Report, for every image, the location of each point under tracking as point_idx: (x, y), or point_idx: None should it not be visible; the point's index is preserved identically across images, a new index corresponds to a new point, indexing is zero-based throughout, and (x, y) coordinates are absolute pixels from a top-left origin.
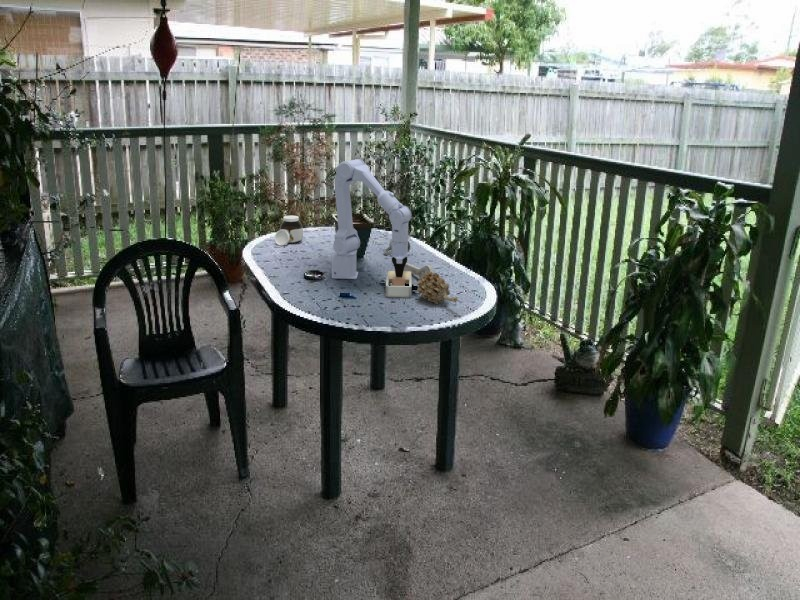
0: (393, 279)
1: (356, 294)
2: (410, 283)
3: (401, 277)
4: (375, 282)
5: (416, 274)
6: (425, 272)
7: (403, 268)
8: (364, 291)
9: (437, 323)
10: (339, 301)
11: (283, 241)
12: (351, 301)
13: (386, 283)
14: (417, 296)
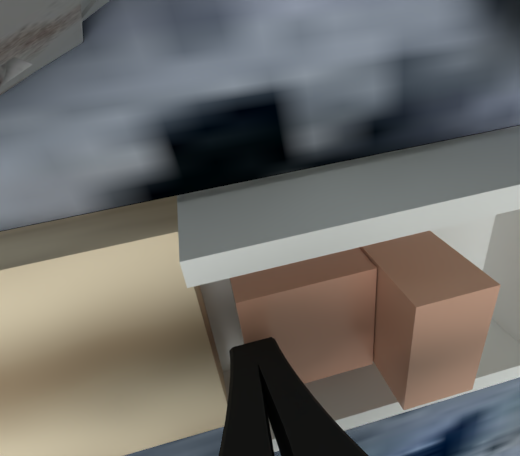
0: (473, 379)
1: (418, 431)
2: (516, 196)
3: (420, 339)
4: (176, 443)
5: None
6: (57, 10)
7: (355, 444)
8: (369, 423)
9: None
10: (506, 442)
11: None
12: (515, 410)
13: (481, 385)
14: (490, 69)
